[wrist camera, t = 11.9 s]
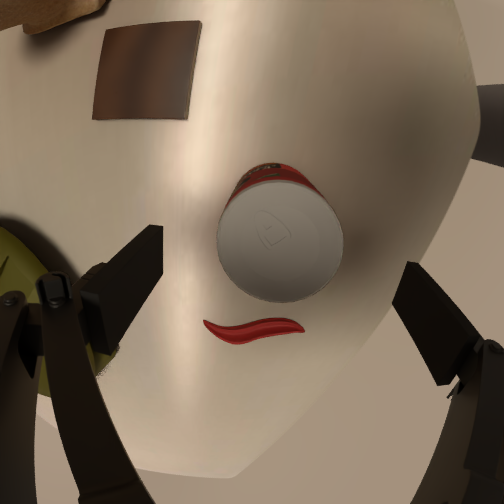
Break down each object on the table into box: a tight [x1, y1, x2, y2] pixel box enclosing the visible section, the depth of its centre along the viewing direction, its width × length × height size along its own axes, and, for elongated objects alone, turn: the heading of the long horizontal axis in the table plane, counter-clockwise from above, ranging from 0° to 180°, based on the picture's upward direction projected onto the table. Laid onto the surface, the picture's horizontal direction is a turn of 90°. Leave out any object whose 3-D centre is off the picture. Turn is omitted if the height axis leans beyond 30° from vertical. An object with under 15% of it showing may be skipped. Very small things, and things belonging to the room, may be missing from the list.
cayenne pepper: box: [203, 318, 305, 344], centre depth 32 cm, size 12×5×2 cm, turn 79°
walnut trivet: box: [92, 21, 202, 120], centre depth 22 cm, size 10×10×1 cm
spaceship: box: [0, 227, 117, 398], centre depth 30 cm, size 35×31×10 cm
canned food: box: [217, 163, 344, 303], centre depth 22 cm, size 8×8×11 cm
